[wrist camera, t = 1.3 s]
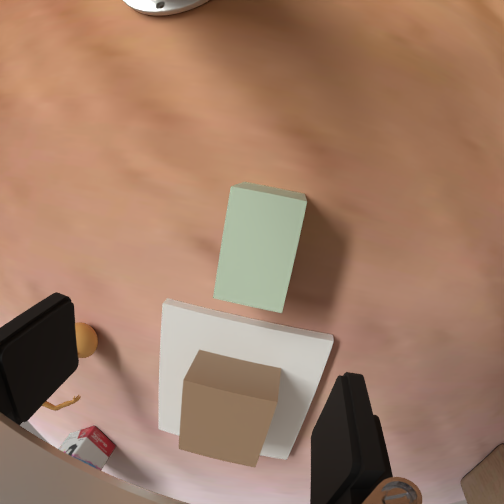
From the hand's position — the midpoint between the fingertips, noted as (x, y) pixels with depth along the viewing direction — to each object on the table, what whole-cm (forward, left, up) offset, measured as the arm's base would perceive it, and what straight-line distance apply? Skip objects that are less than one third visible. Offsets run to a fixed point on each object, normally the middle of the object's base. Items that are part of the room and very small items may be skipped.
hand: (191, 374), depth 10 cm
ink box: (+36, -19, -19) cm, 45 cm away
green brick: (-1, +1, -19) cm, 19 cm away
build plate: (+16, +1, -19) cm, 25 cm away
